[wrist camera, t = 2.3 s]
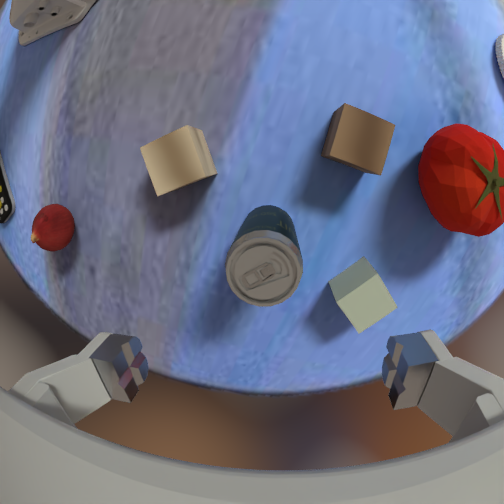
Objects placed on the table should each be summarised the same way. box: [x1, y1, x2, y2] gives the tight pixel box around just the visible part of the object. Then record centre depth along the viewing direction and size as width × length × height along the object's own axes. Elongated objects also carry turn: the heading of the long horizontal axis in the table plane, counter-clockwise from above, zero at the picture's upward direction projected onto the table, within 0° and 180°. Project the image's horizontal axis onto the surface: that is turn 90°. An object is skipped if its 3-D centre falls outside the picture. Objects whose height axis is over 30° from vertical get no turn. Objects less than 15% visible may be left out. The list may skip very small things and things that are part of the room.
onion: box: [31, 204, 75, 251], centre depth 27 cm, size 6×6×8 cm
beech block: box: [140, 125, 217, 196], centre depth 25 cm, size 5×5×5 cm
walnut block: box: [321, 103, 395, 175], centre depth 23 cm, size 5×5×5 cm
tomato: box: [418, 124, 504, 236], centre depth 21 cm, size 12×12×10 cm
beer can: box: [225, 205, 303, 306], centre depth 24 cm, size 5×5×12 cm
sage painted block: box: [328, 257, 397, 333], centre depth 28 cm, size 5×5×5 cm
